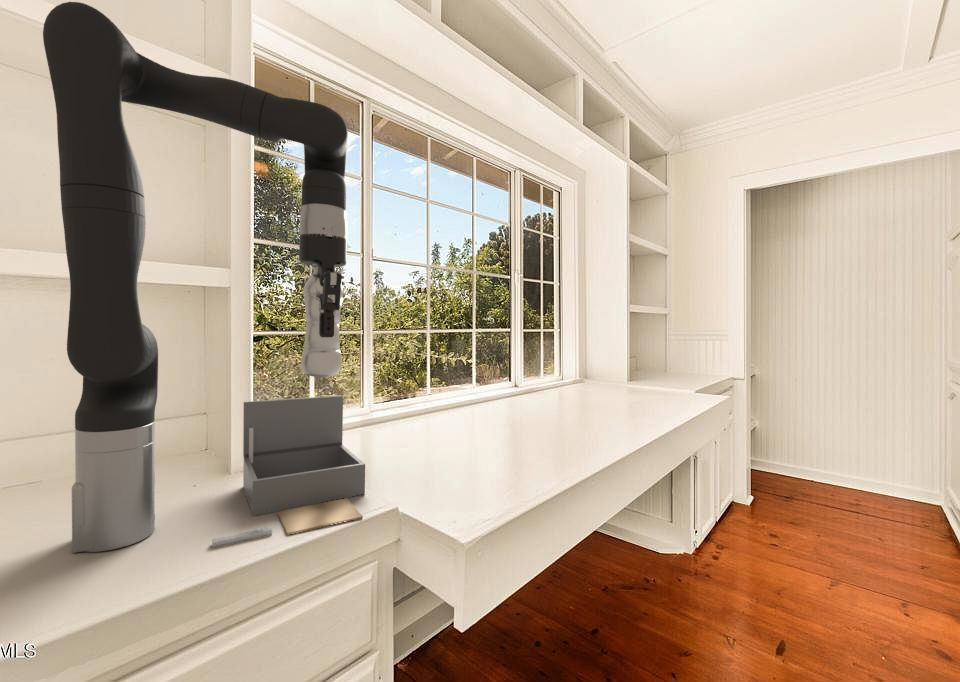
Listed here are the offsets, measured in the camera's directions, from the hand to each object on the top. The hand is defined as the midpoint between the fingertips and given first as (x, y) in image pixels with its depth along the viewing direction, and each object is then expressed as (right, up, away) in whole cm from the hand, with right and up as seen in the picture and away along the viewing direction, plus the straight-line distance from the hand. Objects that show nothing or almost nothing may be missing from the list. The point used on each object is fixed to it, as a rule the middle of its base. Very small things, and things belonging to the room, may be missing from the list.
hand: (321, 336), depth 75 cm
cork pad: (-1, -31, +1) cm, 31 cm away
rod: (-9, -32, -7) cm, 34 cm away
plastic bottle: (0, -7, 0) cm, 7 cm away
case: (-8, -30, +12) cm, 34 cm away
